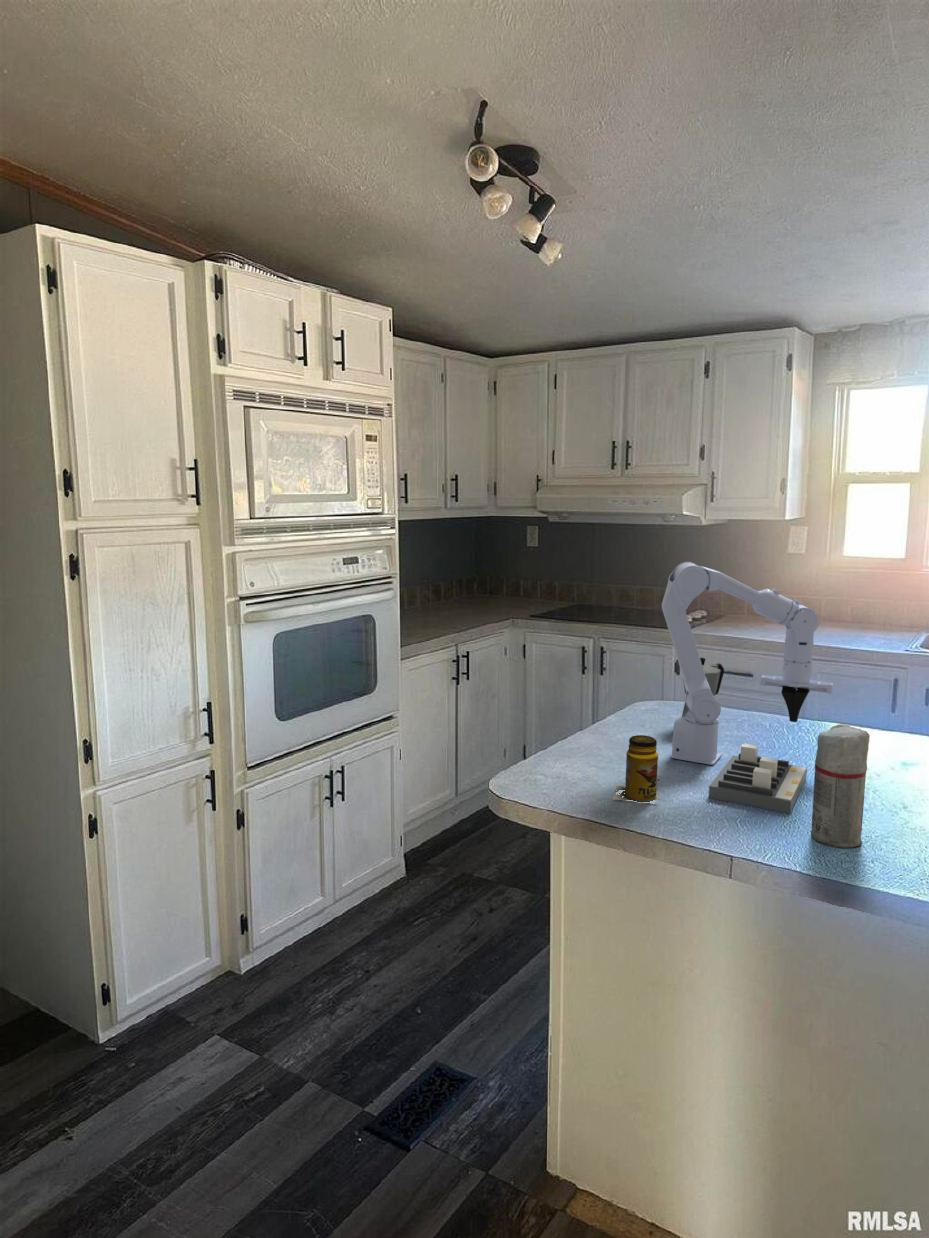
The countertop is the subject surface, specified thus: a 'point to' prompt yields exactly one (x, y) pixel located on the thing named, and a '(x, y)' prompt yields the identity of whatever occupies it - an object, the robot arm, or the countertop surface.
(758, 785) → the tab front
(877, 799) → the countertop surface
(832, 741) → the spray can
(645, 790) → the condiment
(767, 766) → the tab middle
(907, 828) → the countertop surface
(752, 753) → the tab back
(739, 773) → the switch panel
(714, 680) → the coffeepot
